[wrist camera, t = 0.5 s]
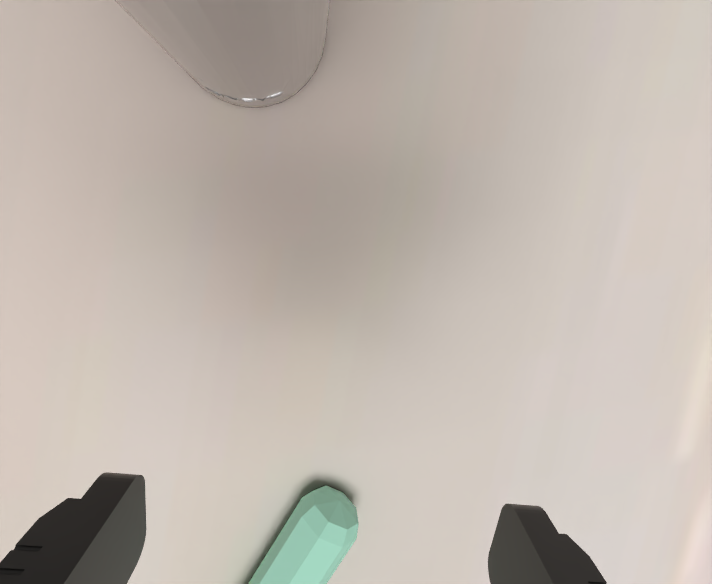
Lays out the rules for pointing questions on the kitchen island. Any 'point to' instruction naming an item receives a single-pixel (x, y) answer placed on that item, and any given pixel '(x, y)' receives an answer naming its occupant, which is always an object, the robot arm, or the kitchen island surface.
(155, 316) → the kitchen island surface
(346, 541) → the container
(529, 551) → the robot arm
